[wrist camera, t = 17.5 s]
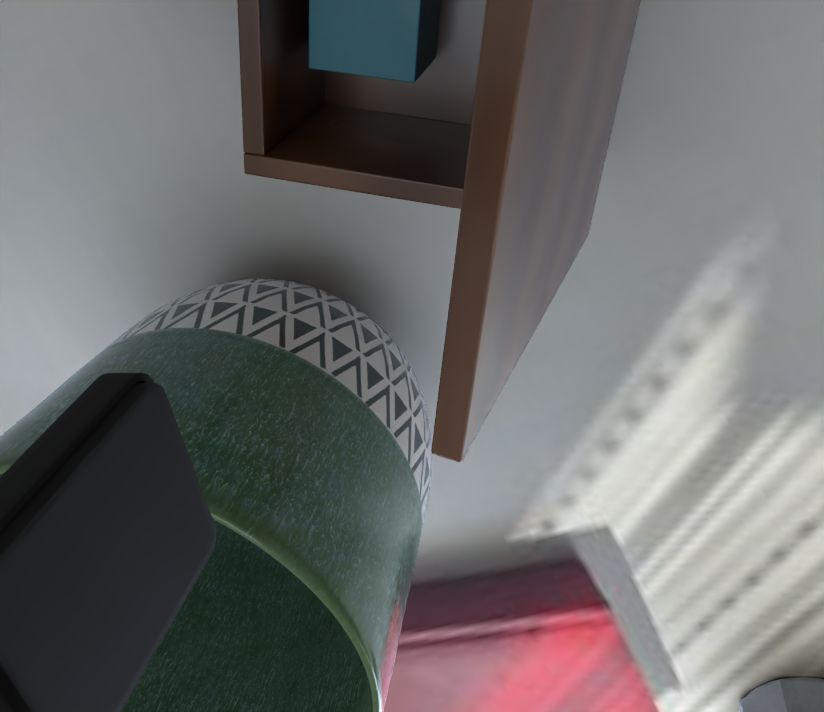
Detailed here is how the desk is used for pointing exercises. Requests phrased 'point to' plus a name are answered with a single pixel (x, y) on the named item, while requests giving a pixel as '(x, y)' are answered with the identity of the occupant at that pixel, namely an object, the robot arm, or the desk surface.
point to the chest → (357, 109)
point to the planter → (279, 495)
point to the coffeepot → (786, 696)
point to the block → (374, 37)
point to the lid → (525, 188)
